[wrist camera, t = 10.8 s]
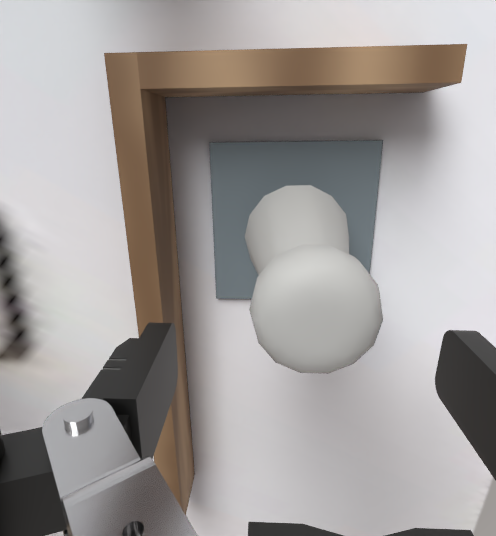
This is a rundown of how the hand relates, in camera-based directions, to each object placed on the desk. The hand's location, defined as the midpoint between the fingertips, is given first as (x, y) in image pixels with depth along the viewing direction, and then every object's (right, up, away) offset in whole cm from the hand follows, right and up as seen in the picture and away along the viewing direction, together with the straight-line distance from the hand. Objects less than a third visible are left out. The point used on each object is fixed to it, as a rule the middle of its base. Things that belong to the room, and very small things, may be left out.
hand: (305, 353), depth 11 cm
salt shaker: (+1, +5, +13) cm, 14 cm away
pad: (+1, +5, +13) cm, 14 cm away
